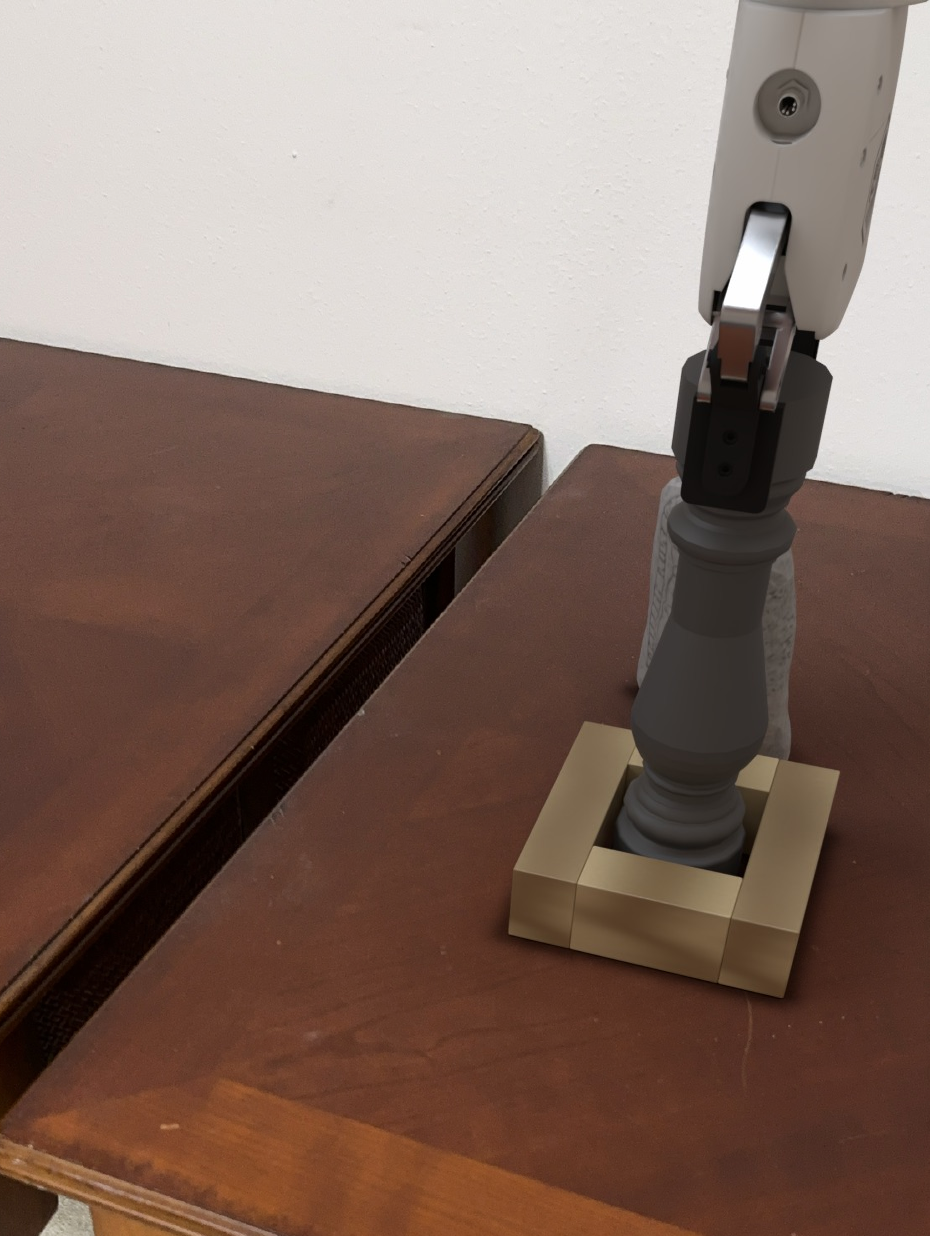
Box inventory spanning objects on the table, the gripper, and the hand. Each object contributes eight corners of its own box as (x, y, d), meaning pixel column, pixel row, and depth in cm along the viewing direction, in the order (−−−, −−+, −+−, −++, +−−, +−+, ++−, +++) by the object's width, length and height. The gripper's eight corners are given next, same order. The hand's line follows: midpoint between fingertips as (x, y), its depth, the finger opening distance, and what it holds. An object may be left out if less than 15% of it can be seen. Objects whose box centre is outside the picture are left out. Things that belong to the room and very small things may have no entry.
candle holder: (705, 938, 73) (806, 418, 55) (587, 894, 75) (648, 383, 58) (754, 868, 76) (862, 361, 59) (640, 828, 79) (712, 330, 62)
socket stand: (824, 834, 78) (840, 770, 76) (783, 999, 69) (799, 932, 67) (577, 784, 82) (584, 720, 79) (507, 934, 73) (513, 868, 70)
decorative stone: (612, 689, 88) (642, 436, 78) (703, 669, 90) (745, 418, 80) (706, 793, 81) (753, 528, 71) (804, 770, 82) (864, 507, 72)
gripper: (927, -5, 42) (808, 568, 54) (976, -106, 54) (870, 382, 65) (657, -23, 44) (600, 534, 56) (762, -116, 56) (696, 360, 67)
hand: (746, 452), depth 61 cm, fingers open, 9 cm apart
